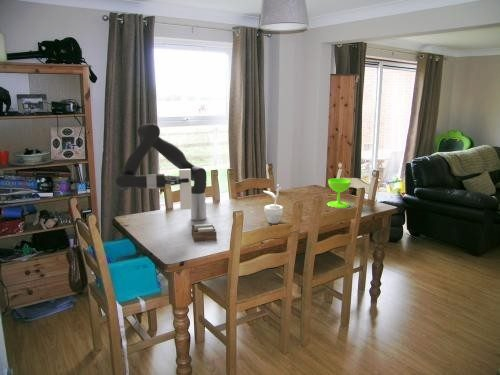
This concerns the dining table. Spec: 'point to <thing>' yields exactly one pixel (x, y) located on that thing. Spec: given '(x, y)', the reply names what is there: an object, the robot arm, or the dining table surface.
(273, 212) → the potted plant
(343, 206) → the wineglass
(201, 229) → the offcut stack
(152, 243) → the dining table surface
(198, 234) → the offcut rack
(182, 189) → the tall board
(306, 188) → the dining table surface
